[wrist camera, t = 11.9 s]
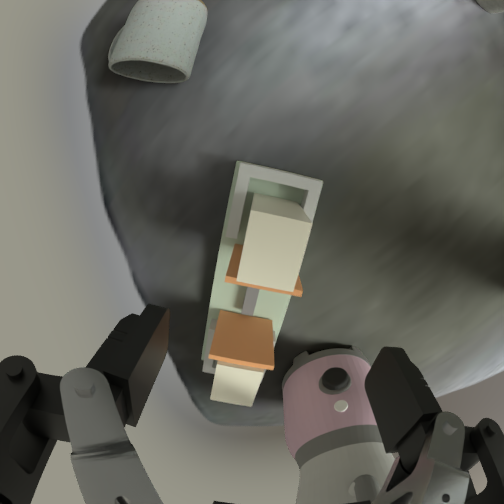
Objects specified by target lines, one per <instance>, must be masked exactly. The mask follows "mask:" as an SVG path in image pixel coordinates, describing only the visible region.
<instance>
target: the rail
mask: <svg viewBox="0 0 504 504" xmlns="http://www.w3.org/2000/svg"><path fill="white" fill-rule="evenodd" d="M322 185H323V181H322V180H319V179H316V178H312V177H308V176H304V175H300V174H296V173H292V172H288V171H284V170H279V169H275V168H271V167H266V166H262V165H257V164H252V163H247V162H243V161H237V162H236V167H235V171H234V176H233V181H232V186H231V191H230V196H229V201H228V206H227V211H226V216H225V221H224V227H223V232H222V237H221V243H220V248H219V253H218V259H217V265H216V270H215V276H214V282H213V288H212V294H211V300H210V306H209V312H208V318H207V324H206V331H205V337H204V344H203V350H202V357H201V360H204V364H203V370H202V372H206V373H211V374H215V376H214V381H213V386H212V392H211V397H210V400H215V401H220V402H226V403H231V404H237V405H243V406H250V407H252V404H253V402H254V399H255V396H256V393H257V391H258V388H259V385H260V383H262V380H263V377H264V374H265V372H266V369H269V370H273V369H274V346H275V343H276V340H277V337H278V334H279V331H280V328H281V325H282V322H283V319H284V316H285V313H286V310H287V307H288V304H289V301H290V297H291V295H288V294H283V293H278V292H272V291H267V290H262V289H257V288H252V287H247V286H242V285H237V284H232V283H227V282H225V276H226V273H227V269H228V266H229V262H230V259H231V255H232V252H233V248H234V245H235V244H240V245H243V244H244V239H245V235H246V230H247V225H248V220H249V215H250V211H251V206H252V201H253V196H254V193H259V194H263V195H268V196H273V197H277V198H282V199H286V200H291V201H295V202H298V204H299V205H300V206H301V208H302V209H303V211H304V212H305V213H306V215H307V216H308V218H309V219H310V220H311V222H312V223H313V219H314V215H315V212H316V208H317V204H318V200H319V196H320V193H321V189H322Z"/></svg>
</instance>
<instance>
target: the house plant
mask: <svg viewBox="0 0 504 504" xmlns="http://www.w3.org/2000/svg"><path fill="white" fill-rule="evenodd" d="M476 1H477V2H478V4H479V5H480V6H481V7H482V8H483V9H484V10H486V11H487V12H489V13H499V12H504V0H476Z"/></svg>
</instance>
